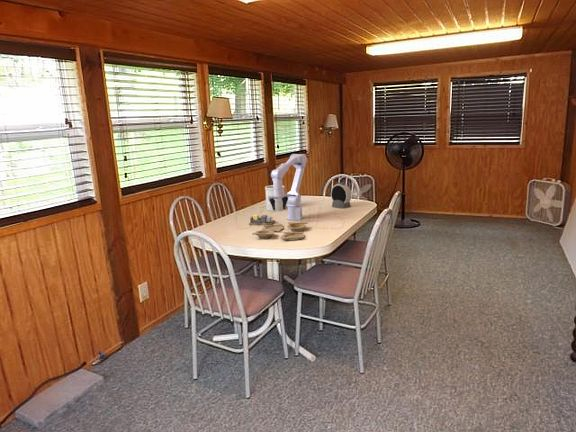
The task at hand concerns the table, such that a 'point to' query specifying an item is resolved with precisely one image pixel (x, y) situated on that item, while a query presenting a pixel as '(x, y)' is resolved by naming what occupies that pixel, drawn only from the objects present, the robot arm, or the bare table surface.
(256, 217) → the block
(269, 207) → the utensil holder
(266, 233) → the tableware set
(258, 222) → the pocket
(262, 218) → the block
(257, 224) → the board
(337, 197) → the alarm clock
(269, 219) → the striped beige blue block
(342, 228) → the table surface
